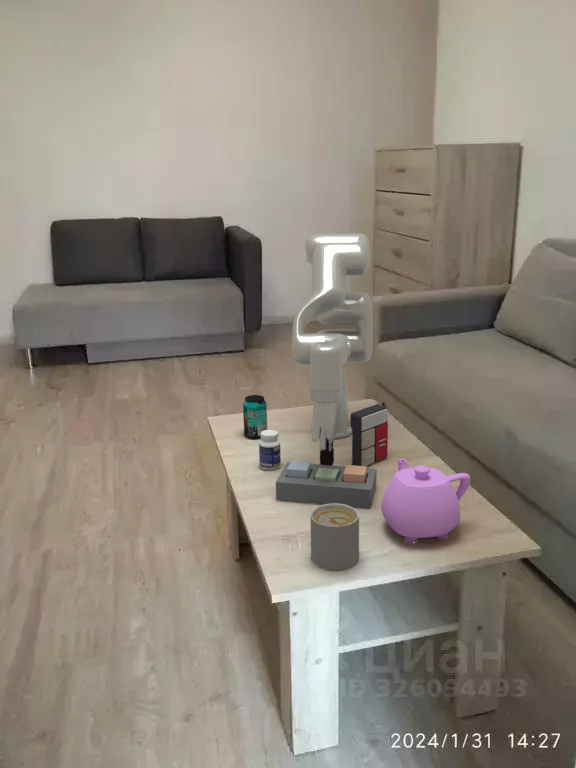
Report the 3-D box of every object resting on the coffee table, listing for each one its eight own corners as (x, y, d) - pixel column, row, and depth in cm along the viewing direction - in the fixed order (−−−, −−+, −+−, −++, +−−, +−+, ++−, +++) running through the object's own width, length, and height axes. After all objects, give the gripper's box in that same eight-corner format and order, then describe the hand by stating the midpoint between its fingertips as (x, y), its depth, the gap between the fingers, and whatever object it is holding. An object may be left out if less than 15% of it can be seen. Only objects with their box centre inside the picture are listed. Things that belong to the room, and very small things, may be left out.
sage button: (319, 485, 178) (318, 467, 177) (338, 487, 177) (338, 469, 176) (315, 494, 174) (314, 476, 172) (335, 496, 173) (335, 477, 171)
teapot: (444, 499, 171) (447, 441, 167) (483, 540, 153) (488, 477, 148) (367, 509, 168) (367, 450, 163) (397, 553, 149) (399, 488, 144)
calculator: (361, 470, 188) (362, 417, 184) (350, 465, 192) (350, 413, 187) (389, 458, 195) (390, 407, 191) (377, 453, 198) (378, 403, 194)
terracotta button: (346, 483, 176) (346, 464, 175) (366, 484, 175) (366, 466, 174) (343, 492, 172) (343, 473, 170) (364, 494, 171) (364, 475, 169)
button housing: (287, 479, 184) (287, 461, 182) (376, 486, 179) (376, 468, 177) (276, 500, 173) (275, 482, 171) (370, 508, 168) (370, 489, 166)
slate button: (291, 478, 180) (291, 460, 178) (311, 480, 178) (310, 462, 177) (287, 487, 175) (286, 469, 173) (307, 489, 174) (306, 470, 172)
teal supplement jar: (249, 430, 218) (248, 393, 214) (271, 432, 216) (269, 395, 212) (240, 438, 212) (238, 400, 208) (262, 441, 209) (260, 402, 206)
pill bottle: (278, 471, 189) (277, 437, 186) (257, 470, 190) (256, 435, 187) (282, 463, 194) (281, 429, 191) (262, 461, 195) (261, 428, 192)
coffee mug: (366, 565, 145) (366, 521, 142) (320, 574, 142) (319, 530, 139) (342, 534, 157) (342, 493, 154) (299, 541, 154) (298, 500, 151)
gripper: (316, 382, 176) (317, 450, 182) (304, 403, 162) (305, 476, 168) (346, 384, 174) (346, 452, 180) (336, 405, 160) (336, 478, 166)
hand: (326, 463), depth 174 cm, fingers closed
